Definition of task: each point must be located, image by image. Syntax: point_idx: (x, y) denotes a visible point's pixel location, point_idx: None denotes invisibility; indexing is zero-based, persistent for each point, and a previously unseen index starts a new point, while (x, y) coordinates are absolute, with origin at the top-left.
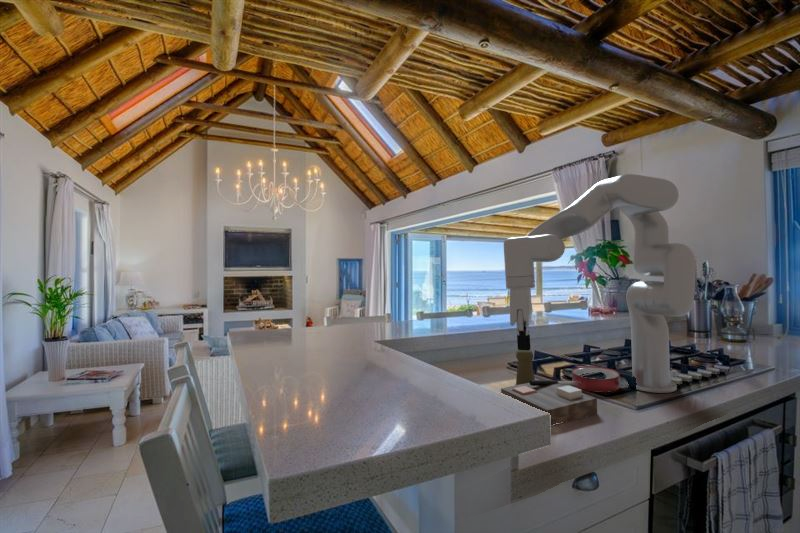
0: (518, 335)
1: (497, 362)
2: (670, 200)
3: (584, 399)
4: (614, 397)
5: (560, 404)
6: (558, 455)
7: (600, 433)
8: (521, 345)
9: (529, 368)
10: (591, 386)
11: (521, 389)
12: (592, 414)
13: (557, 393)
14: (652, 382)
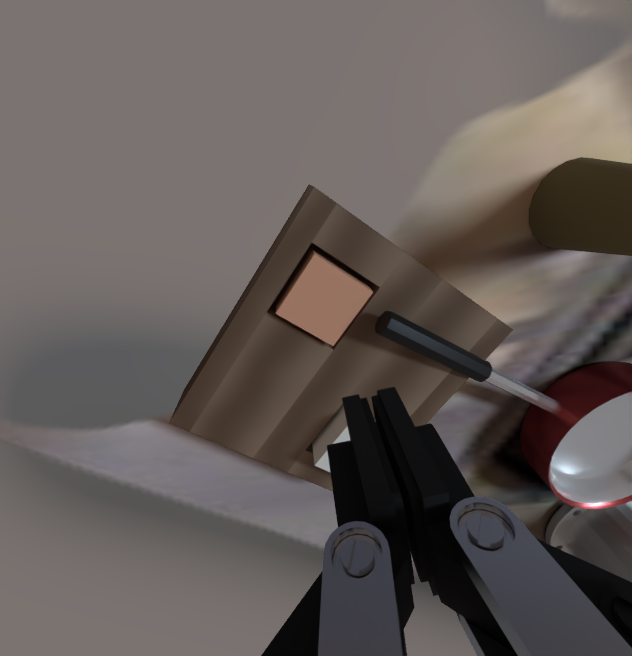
0: (330, 545)
1: None
2: None
3: (328, 480)
4: (490, 472)
5: (246, 440)
6: (35, 449)
7: (224, 488)
8: (329, 461)
9: (613, 248)
10: (532, 435)
11: (315, 293)
12: None
13: (344, 411)
14: (576, 549)
